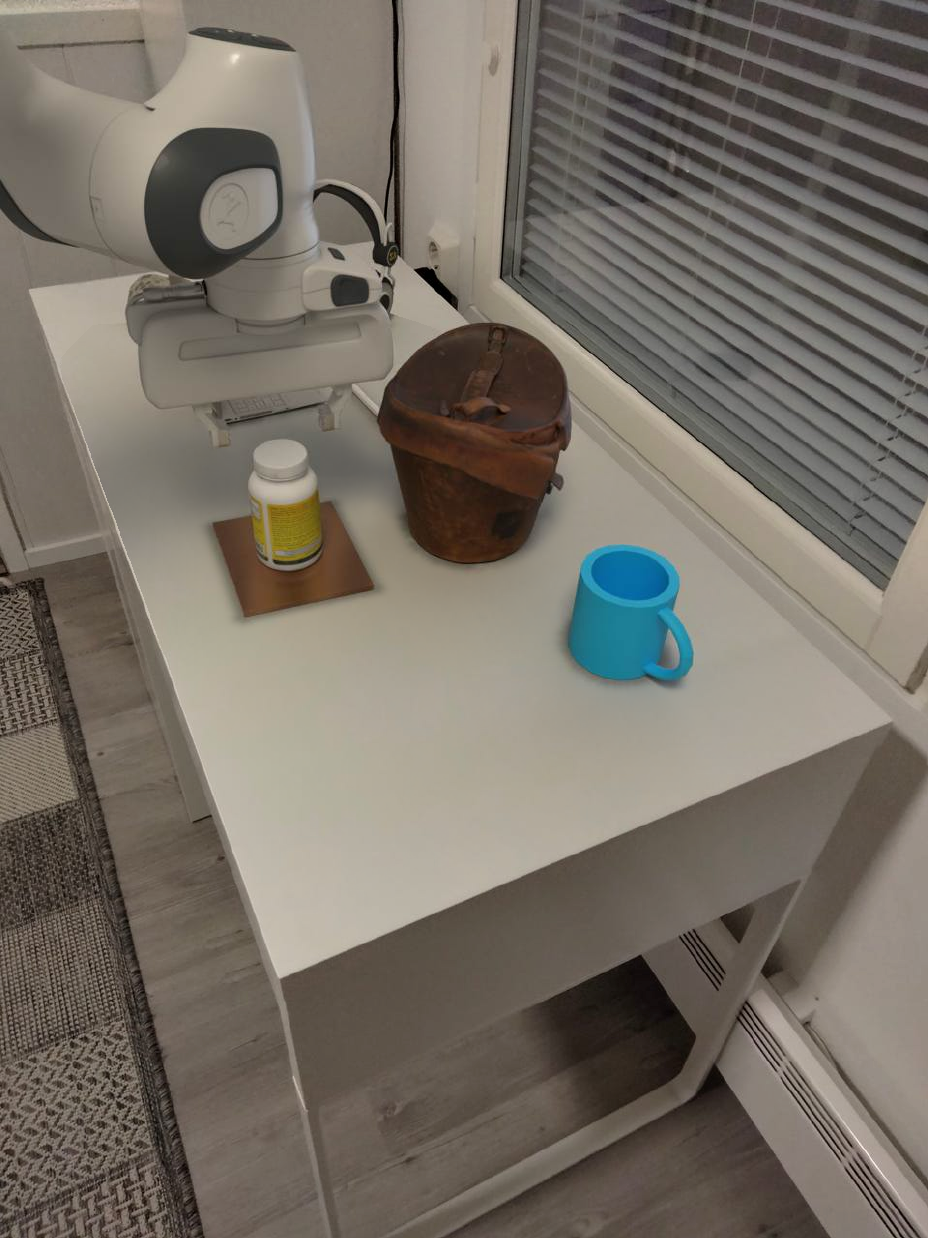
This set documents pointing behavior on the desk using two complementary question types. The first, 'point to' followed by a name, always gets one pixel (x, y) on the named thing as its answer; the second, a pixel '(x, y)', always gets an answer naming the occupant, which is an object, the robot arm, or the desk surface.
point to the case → (476, 438)
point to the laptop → (259, 398)
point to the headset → (372, 215)
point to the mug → (627, 614)
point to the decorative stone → (148, 284)
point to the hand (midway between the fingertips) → (275, 435)
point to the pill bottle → (285, 506)
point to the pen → (365, 399)
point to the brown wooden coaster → (285, 589)
